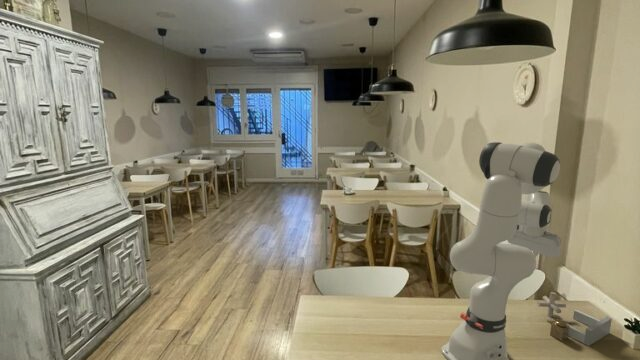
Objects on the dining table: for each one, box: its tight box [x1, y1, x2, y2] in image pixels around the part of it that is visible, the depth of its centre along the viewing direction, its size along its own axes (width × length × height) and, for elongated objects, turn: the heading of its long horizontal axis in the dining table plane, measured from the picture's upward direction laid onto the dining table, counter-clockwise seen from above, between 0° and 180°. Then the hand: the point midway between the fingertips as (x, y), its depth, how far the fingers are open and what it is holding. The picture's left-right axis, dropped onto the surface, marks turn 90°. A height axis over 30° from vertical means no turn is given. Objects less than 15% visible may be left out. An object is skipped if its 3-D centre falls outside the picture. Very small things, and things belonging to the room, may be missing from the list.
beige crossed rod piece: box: [536, 291, 567, 318], centre depth 138 cm, size 10×10×10 cm
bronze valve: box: [549, 319, 570, 342], centre depth 126 cm, size 4×4×6 cm
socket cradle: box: [556, 309, 613, 347], centre depth 129 cm, size 15×12×6 cm
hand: (530, 259), depth 144 cm, fingers closed
